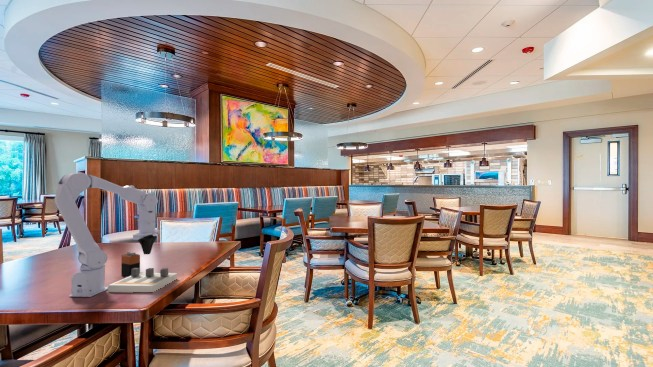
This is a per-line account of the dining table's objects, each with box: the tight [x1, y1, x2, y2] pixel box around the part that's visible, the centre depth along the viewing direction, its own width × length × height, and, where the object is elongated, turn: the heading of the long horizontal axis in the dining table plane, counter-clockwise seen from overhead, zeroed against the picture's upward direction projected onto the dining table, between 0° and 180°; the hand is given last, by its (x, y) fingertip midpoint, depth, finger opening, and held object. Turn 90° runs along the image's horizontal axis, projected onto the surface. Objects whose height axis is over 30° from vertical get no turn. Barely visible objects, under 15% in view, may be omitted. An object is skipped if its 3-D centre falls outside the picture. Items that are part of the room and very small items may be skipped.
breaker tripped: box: [159, 267, 169, 277], centre depth 120 cm, size 2×2×3 cm
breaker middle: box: [145, 267, 155, 277], centre depth 120 cm, size 2×2×3 cm
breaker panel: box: [107, 272, 178, 293], centre depth 117 cm, size 16×17×3 cm
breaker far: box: [131, 268, 139, 276], centre depth 121 cm, size 2×2×3 cm
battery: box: [120, 251, 141, 278], centre depth 130 cm, size 4×7×10 cm, turn 63°
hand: (147, 253), depth 126 cm, fingers closed
